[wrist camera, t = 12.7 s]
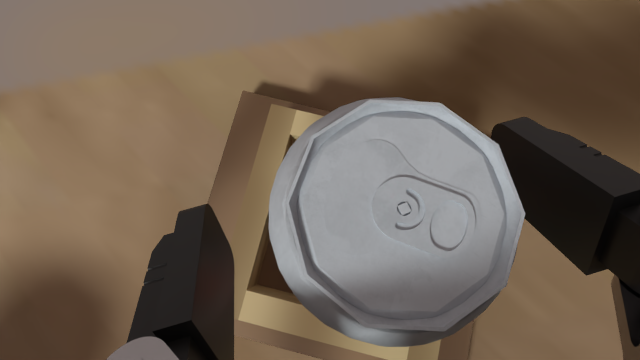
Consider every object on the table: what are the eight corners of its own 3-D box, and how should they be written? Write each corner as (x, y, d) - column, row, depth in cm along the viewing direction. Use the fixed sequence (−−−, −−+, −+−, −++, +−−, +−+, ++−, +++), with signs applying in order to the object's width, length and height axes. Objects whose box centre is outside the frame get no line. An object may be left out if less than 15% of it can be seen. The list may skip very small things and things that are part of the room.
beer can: (318, 174, 18) (320, 38, 6) (407, 206, 18) (579, 127, 6) (284, 264, 17) (212, 297, 6) (376, 299, 17) (508, 415, 5)
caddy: (489, 157, 20) (528, 136, 16) (452, 386, 17) (487, 423, 14) (247, 99, 20) (231, 67, 17) (181, 314, 18) (146, 330, 14)
